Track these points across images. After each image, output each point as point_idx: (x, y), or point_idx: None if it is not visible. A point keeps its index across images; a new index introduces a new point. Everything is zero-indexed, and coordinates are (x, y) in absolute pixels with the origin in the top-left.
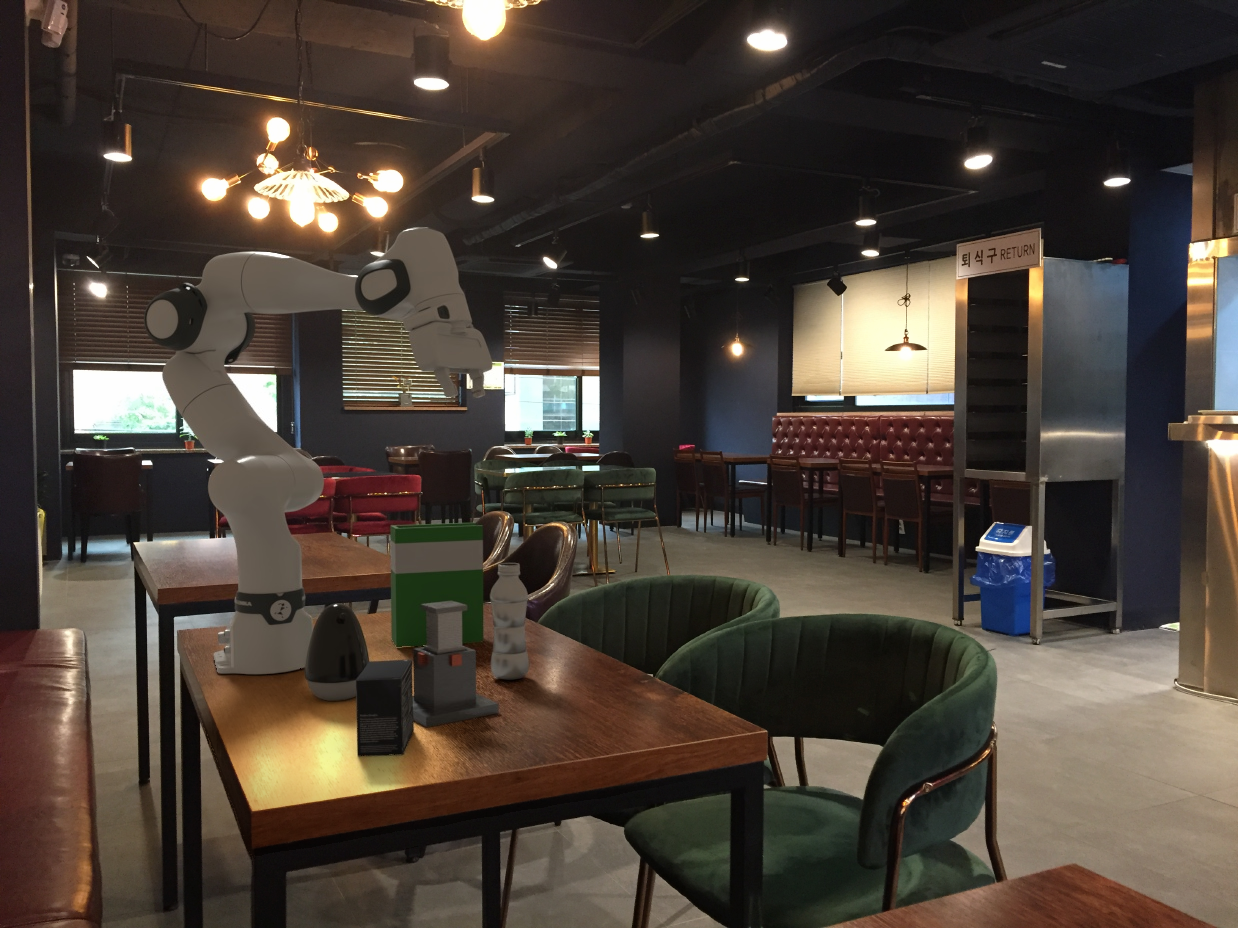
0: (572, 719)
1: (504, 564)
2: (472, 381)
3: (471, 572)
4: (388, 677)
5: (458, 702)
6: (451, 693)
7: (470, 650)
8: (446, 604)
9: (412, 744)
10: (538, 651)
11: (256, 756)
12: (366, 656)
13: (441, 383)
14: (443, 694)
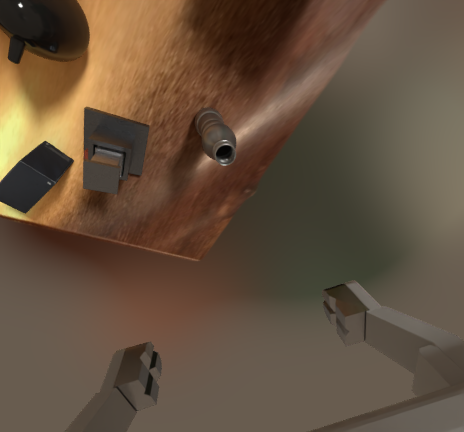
0: (163, 207)
1: (229, 145)
2: (416, 336)
3: None
4: (15, 208)
5: None
6: None
7: (123, 178)
8: (104, 179)
9: (60, 178)
10: (293, 75)
11: None
12: (72, 57)
13: (81, 421)
14: None
